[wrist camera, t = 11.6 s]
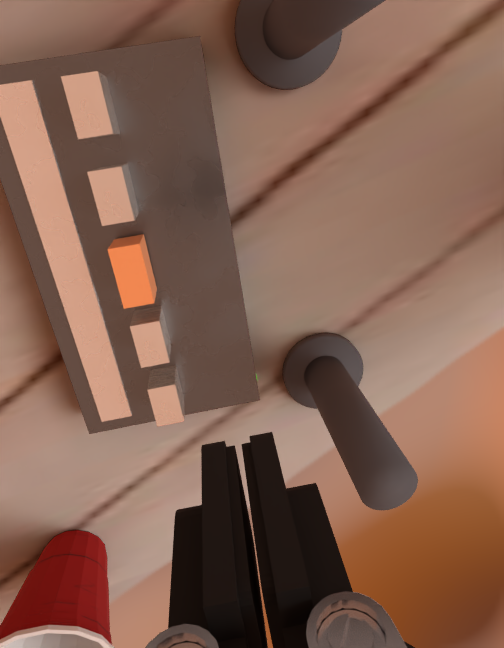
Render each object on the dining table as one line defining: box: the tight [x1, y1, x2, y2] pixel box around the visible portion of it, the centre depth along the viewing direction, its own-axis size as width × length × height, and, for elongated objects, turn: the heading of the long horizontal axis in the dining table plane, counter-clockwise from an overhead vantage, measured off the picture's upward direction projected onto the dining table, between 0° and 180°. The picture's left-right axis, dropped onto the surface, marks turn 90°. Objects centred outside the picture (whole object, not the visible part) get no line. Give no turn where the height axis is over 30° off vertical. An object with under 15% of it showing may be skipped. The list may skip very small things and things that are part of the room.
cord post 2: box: [283, 333, 418, 510], centre depth 34 cm, size 7×7×15 cm
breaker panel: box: [0, 36, 260, 434], centre depth 32 cm, size 14×26×6 cm, turn 9°
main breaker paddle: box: [107, 234, 157, 309], centre depth 31 cm, size 2×4×3 cm, turn 9°
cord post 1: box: [235, 0, 385, 90], centre depth 24 cm, size 7×7×15 cm
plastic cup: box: [0, 530, 114, 648], centre depth 40 cm, size 11×11×12 cm
